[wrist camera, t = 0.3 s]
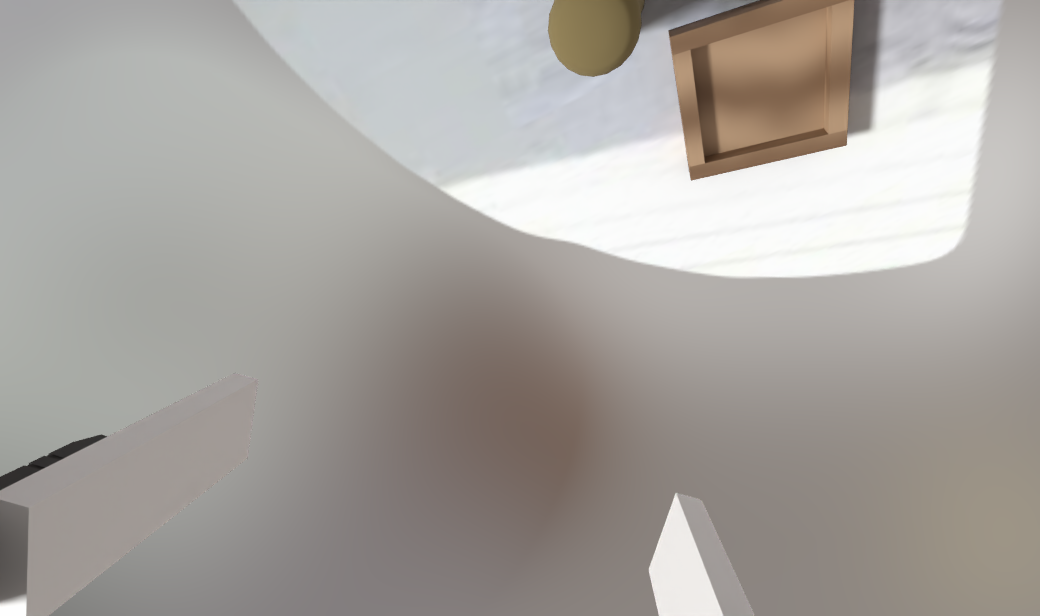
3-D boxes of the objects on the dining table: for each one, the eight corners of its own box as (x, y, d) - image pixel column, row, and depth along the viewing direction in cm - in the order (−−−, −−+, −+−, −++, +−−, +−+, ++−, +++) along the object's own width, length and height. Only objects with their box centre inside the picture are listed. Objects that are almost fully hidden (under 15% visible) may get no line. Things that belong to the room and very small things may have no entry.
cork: (557, -52, 33) (532, -29, 25) (649, -62, 32) (654, -41, 24) (561, 46, 37) (540, 94, 29) (643, 41, 36) (646, 89, 28)
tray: (668, 30, 35) (669, 37, 34) (845, -28, 32) (855, -24, 30) (689, 169, 42) (691, 180, 40) (838, 134, 38) (846, 145, 36)
